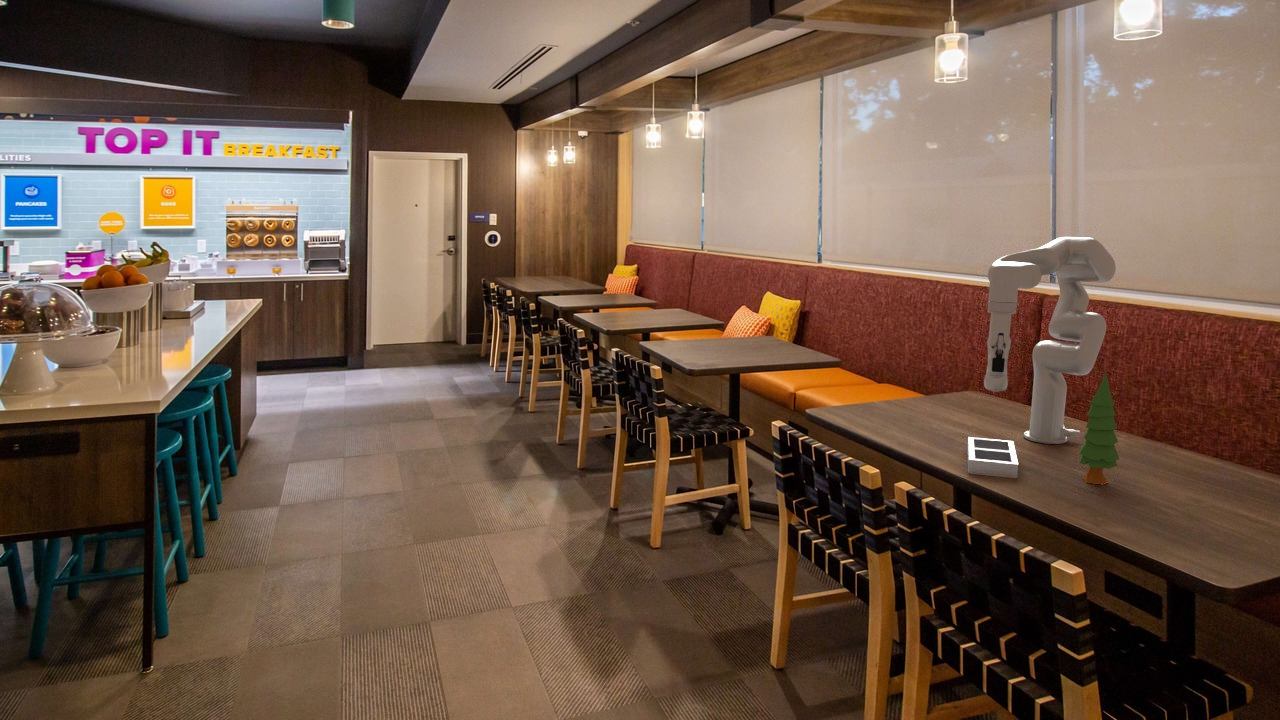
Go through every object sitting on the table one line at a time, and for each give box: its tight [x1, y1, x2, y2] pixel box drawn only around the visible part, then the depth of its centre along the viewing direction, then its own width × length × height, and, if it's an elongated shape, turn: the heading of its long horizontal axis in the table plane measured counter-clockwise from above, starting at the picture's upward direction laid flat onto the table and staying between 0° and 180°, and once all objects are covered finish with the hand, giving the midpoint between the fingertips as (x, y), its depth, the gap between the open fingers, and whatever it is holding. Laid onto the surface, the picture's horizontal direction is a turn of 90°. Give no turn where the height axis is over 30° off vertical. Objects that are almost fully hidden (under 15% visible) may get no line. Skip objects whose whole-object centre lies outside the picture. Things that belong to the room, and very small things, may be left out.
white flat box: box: [966, 436, 1019, 479], centre depth 241 cm, size 12×24×4 cm, turn 160°
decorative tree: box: [1079, 371, 1120, 485], centre depth 222 cm, size 10×9×30 cm
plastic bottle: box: [983, 336, 1012, 393], centre depth 241 cm, size 6×7×20 cm
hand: (997, 369), depth 242 cm, fingers closed on plastic bottle, 5 cm apart
